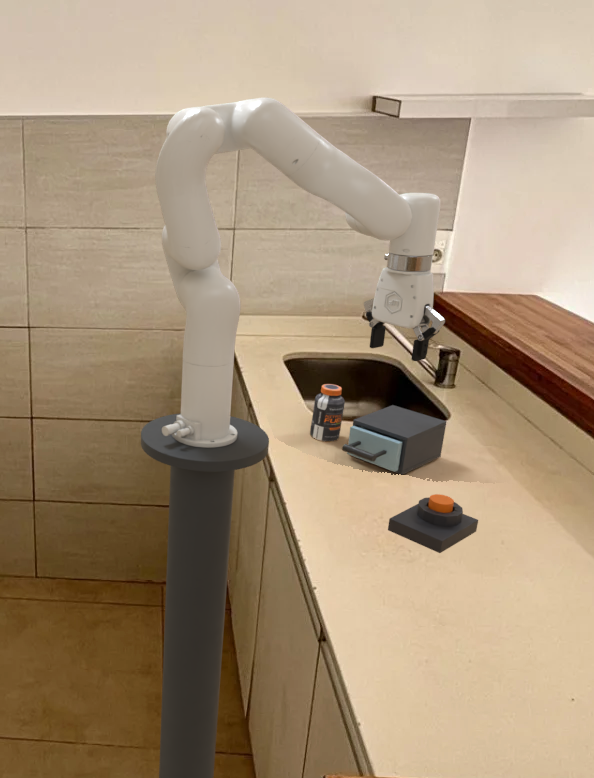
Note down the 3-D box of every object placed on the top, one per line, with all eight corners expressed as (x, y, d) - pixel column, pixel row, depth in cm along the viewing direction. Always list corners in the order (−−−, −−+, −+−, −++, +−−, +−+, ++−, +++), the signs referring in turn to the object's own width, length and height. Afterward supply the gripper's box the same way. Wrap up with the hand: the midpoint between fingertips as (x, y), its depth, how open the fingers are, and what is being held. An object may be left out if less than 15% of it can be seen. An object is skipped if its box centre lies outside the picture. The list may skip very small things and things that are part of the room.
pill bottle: (322, 444, 158) (329, 393, 154) (303, 433, 163) (310, 383, 159) (345, 440, 160) (353, 389, 156) (326, 429, 165) (333, 380, 161)
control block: (439, 553, 118) (444, 530, 117) (387, 530, 125) (390, 508, 124) (476, 531, 124) (480, 509, 123) (424, 510, 131) (427, 489, 130)
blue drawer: (379, 479, 141) (383, 450, 139) (331, 460, 148) (334, 432, 146) (430, 455, 150) (435, 427, 148) (383, 438, 158) (387, 412, 156)
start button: (444, 516, 122) (446, 506, 121) (423, 507, 125) (425, 498, 124) (456, 509, 124) (458, 500, 123) (435, 501, 127) (437, 492, 126)
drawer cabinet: (402, 475, 144) (407, 437, 142) (348, 455, 153) (353, 419, 150) (440, 456, 152) (446, 421, 149) (388, 438, 161) (392, 404, 158)
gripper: (357, 258, 145) (347, 345, 151) (436, 272, 131) (422, 368, 136) (385, 254, 148) (374, 340, 154) (465, 268, 134) (449, 362, 140)
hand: (396, 353), depth 145 cm, fingers open, 9 cm apart
